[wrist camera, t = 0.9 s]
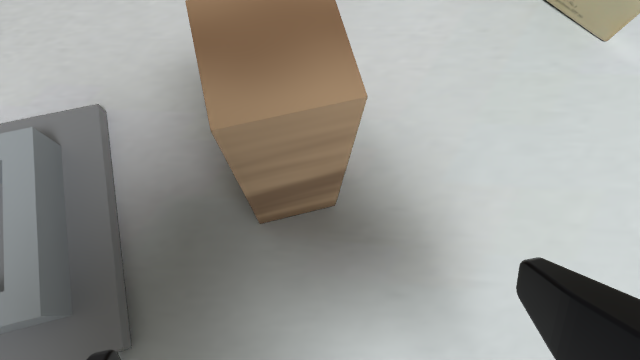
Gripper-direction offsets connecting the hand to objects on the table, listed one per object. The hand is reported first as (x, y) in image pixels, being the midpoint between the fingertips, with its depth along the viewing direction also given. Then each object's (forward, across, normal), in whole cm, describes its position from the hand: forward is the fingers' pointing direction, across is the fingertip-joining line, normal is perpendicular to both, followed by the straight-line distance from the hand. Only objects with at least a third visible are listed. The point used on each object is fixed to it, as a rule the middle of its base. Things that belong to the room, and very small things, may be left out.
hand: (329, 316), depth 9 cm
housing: (+14, +17, +5) cm, 23 cm away
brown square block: (+15, 0, +4) cm, 15 cm away
